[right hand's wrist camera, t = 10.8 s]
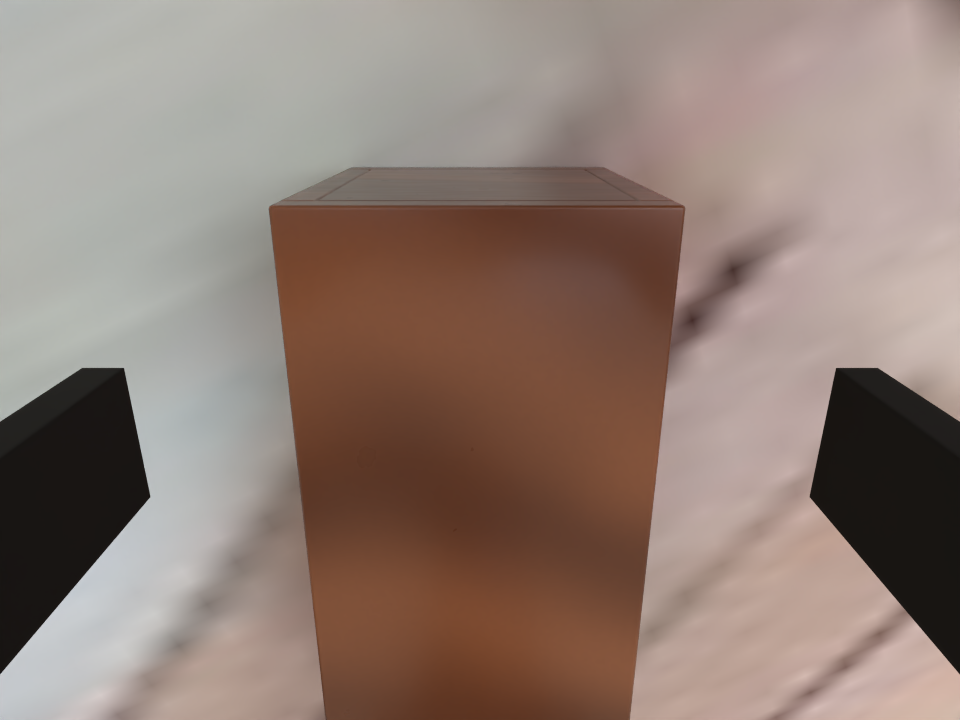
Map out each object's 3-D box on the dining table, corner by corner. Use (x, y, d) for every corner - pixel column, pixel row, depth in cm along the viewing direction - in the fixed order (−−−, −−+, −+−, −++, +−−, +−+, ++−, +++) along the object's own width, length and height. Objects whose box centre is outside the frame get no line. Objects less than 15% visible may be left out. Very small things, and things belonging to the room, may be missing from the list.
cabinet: (579, 562, 34) (625, 767, 24) (376, 562, 34) (330, 767, 24) (605, 167, 27) (686, 205, 17) (350, 167, 27) (266, 205, 17)
